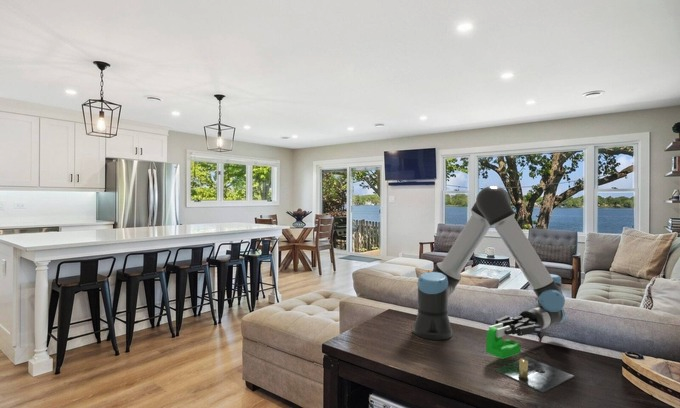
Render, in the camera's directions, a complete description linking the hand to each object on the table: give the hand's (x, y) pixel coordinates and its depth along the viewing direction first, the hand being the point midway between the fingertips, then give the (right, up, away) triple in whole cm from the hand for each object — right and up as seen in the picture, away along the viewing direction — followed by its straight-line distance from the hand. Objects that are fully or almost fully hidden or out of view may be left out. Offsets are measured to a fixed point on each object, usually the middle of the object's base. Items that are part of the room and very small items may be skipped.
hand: (493, 331), depth 122 cm
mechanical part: (+4, -7, 0) cm, 8 cm away
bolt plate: (+9, -10, -9) cm, 16 cm away
